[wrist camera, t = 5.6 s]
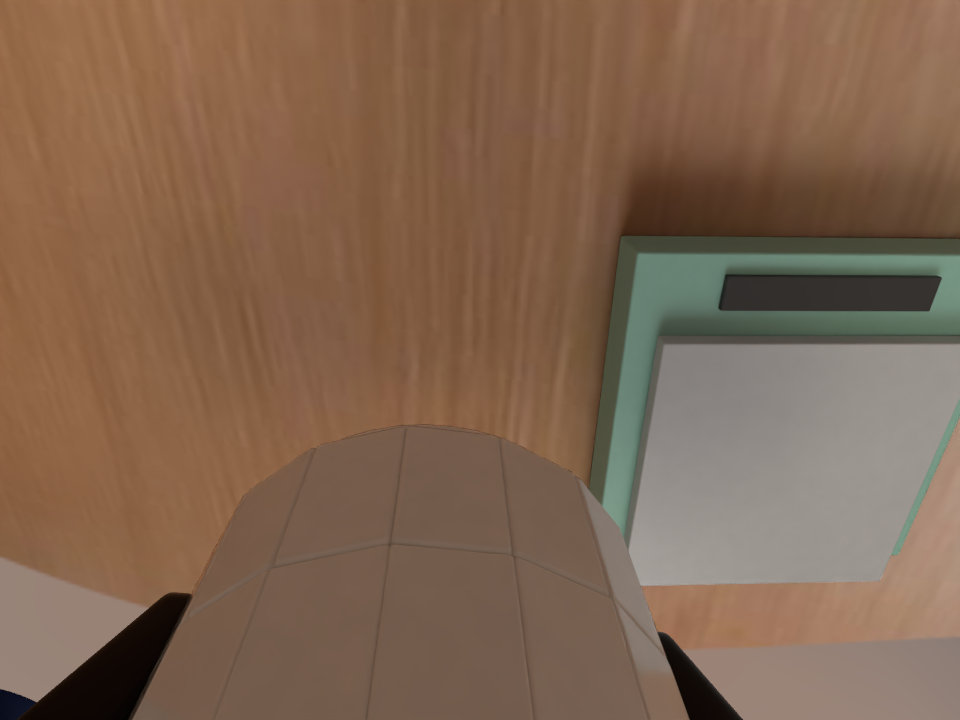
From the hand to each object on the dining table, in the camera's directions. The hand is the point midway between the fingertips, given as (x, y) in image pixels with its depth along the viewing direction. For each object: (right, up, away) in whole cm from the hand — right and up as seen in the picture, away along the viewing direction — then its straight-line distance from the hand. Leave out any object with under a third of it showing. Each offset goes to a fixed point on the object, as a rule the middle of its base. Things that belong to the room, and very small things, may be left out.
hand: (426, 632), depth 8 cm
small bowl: (0, +1, +1) cm, 1 cm away
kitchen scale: (+10, +3, +12) cm, 16 cm away
